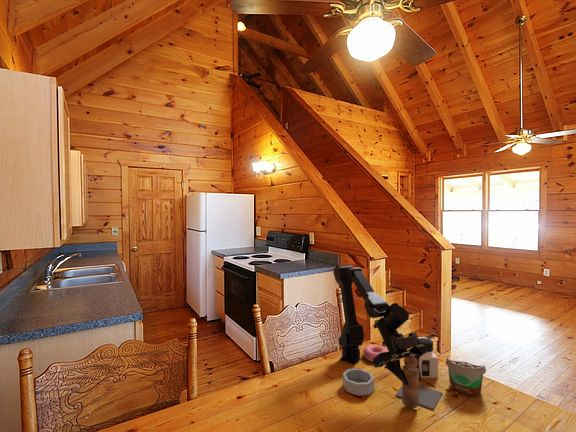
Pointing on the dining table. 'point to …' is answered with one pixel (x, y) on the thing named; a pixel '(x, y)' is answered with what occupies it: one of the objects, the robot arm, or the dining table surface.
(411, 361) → the pepper mill
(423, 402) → the mat
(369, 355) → the doughnut
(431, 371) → the container
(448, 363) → the food container
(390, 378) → the dining table surface
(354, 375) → the bowl
